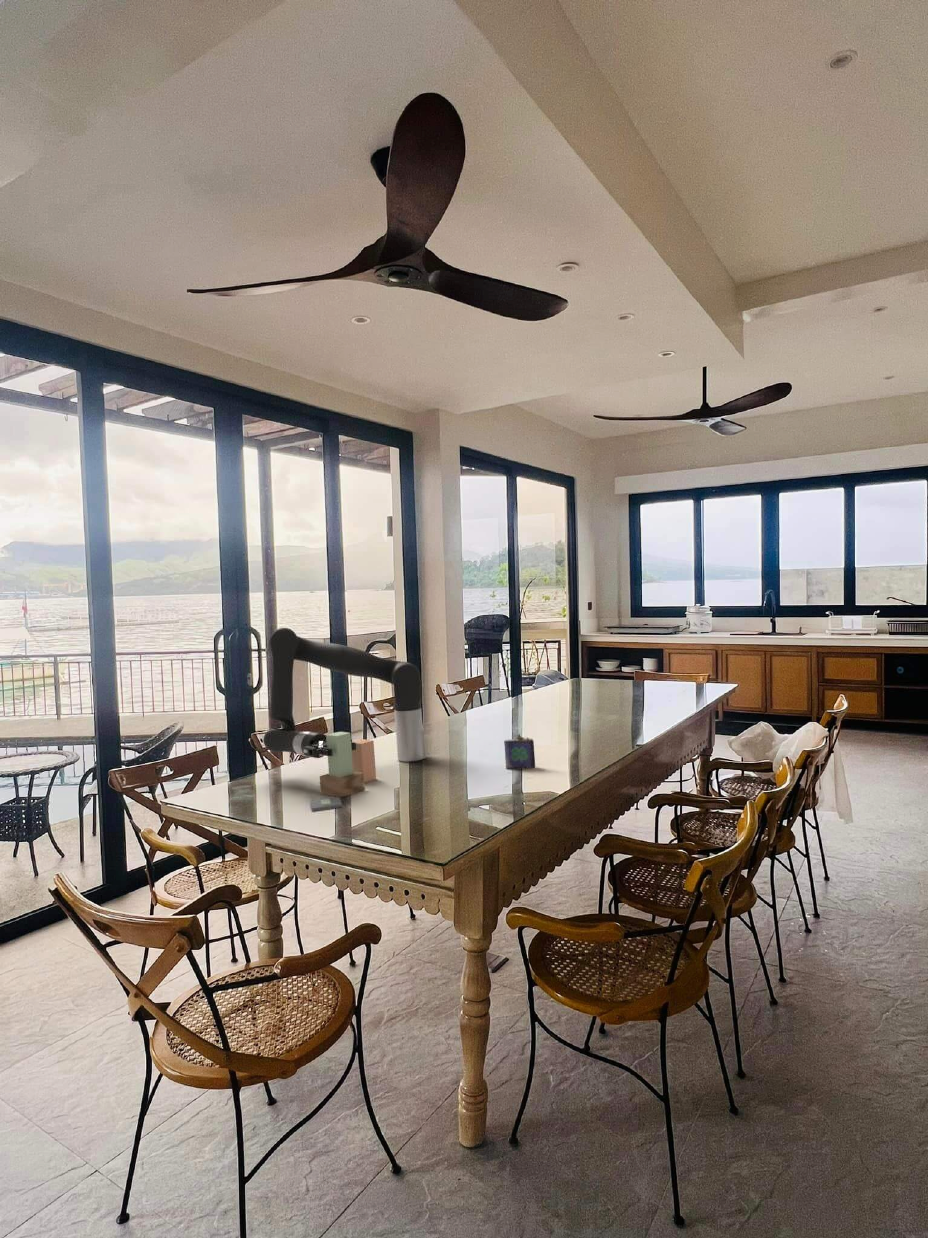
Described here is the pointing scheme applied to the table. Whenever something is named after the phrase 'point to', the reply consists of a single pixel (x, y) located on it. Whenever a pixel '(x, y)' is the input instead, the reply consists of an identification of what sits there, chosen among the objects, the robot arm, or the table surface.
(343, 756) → the sage pillar
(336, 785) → the walnut base
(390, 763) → the table surface
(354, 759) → the terracotta pillar
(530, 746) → the flask
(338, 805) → the tile
